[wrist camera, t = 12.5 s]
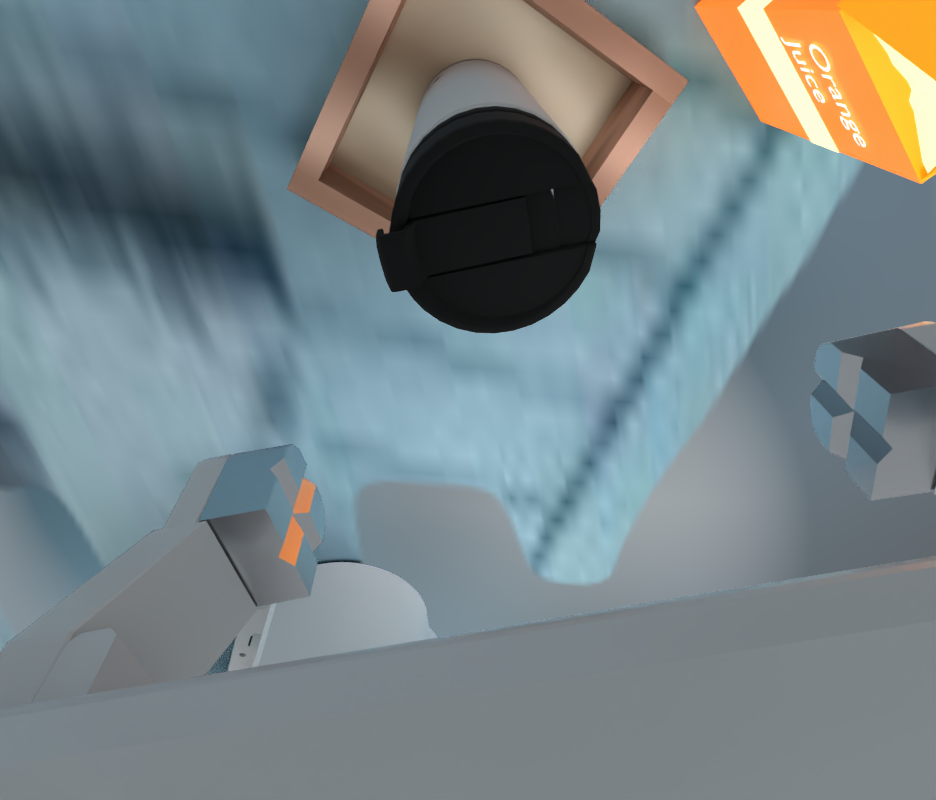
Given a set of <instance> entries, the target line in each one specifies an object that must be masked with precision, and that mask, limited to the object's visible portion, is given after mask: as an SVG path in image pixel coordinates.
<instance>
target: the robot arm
mask: <svg viewBox="0 0 936 800" xmlns="http://www.w3.org/2000/svg"><path fill="white" fill-rule="evenodd" d="M814 370H815V371H816V372H817V373H818V374H819V376H820V377H821V378H822V379H823V380H822V381H821V383H820V384H819V385H818V386H817V388H816V389H815V390H814V391H813V392H812V394H811V405H810V414H811V419H812V423H813V428H814V431H815V433H816V435H817V437H818V439H819V441H820V442H821V443H822V444H823V446H824V447H825V448H826V449H827V451H828V452H830V453H832V454H835V455H838V456H840V457H842V458H845V459H846V467H845V471H846V473H847V474H848V475H849V476H850V477H851V478H852V480H854V482H855V483H856V484H857V485H858V486H859V488H860V489H861V490H862V491H863V492H864V493H865V494H866V496H867V497H868V498H869V499H870V500H878V499H885V498H892V497H898V496H905V495H911V494H919V493H926V492H933V491H934V494H935V495H936V323H935V322H929V321H925V322H920V323H916V324H911V325H907V326H903V327H898V328H894V329H890V330H886V331H881V332H877V333H872V334H868V335H863V336H858V337H853V338H849V339H844V340H839V341H835V342H830V343H825V344H821V345H820V346H819V348H818V351H817V353H816V356H815V364H814ZM306 465H307V464H306V462H305V460H304V458H303V456H302V454H301V452H300V450H299V448H298V447H296V446H295V445H293V444H290V445H284V446H278V447H272V448H266V449H260V450H255V451H249V452H243V453H237V454H234V455H225V456H220V457H215V458H210V459H205V460H203V461H201V462H199V463H198V464H197V466H196V468H195V469H194V471H193V473H192V475H191V477H190V479H189V481H188V483H187V484H186V486H185V488H184V490H183V492H182V494H181V496H180V497H179V499H178V501H177V503H176V505H175V507H174V509H173V511H172V512H171V514H170V516H169V518H168V520H167V522H166V524H165V525H164V527H163V529H158V530H153V531H152V532H151V533H149V534H148V535H147V536H145V537H144V538H143V539H141V540H140V541H139V542H138V543H136V544H135V545H134V546H132V547H131V548H130V549H128V550H127V551H126V552H125V553H123V554H122V555H121V556H119V557H118V558H117V559H115V560H114V561H113V562H112V563H110V564H109V565H108V566H106V567H105V568H104V569H102V570H101V571H100V572H99V573H97V574H96V575H95V576H93V577H92V578H91V579H89V580H88V581H87V582H86V583H84V584H83V585H82V586H80V587H79V588H78V589H76V590H75V591H74V592H73V593H71V594H70V595H69V596H67V597H66V598H65V599H63V600H62V601H61V602H60V603H58V604H57V605H56V606H54V607H53V608H52V609H51V610H49V611H48V612H47V613H46V614H44V615H43V616H41V617H40V618H39V619H37V620H36V621H35V622H34V623H32V624H31V625H30V626H28V627H27V628H26V629H25V630H23V631H22V632H21V633H19V634H18V635H17V636H15V637H14V638H13V639H12V640H10V641H9V642H8V643H7V644H6V645H5V647H4V648H3V650H2V651H1V653H0V800H936V556H932V557H926V558H920V559H914V560H908V561H902V562H895V563H889V564H883V565H877V566H871V567H865V568H859V569H852V570H846V571H840V572H834V573H828V574H821V575H816V576H810V577H803V578H797V579H791V580H785V581H778V582H772V583H766V584H760V585H753V586H747V587H741V588H735V589H729V590H723V591H716V592H711V593H704V594H698V595H692V596H686V597H680V598H674V599H668V600H662V601H655V602H650V603H643V604H638V605H631V606H625V607H619V608H613V609H607V610H601V611H596V612H589V613H583V614H577V615H570V616H565V617H558V618H552V619H546V620H540V621H534V622H528V623H522V624H517V625H510V626H504V627H498V628H492V629H485V630H480V631H473V632H467V633H461V634H455V635H449V636H443V637H438V636H437V635H436V634H435V632H434V631H433V630H432V629H431V628H430V626H429V623H428V615H427V609H426V606H425V603H424V601H423V599H422V597H421V596H420V595H419V593H418V592H417V591H416V590H415V589H414V588H413V587H412V586H411V585H410V584H409V583H408V582H406V581H405V580H403V579H402V578H400V577H399V576H397V575H395V574H393V573H391V572H389V571H386V570H384V569H381V568H378V567H374V566H371V565H366V564H360V563H351V562H333V563H324V564H318V563H317V561H316V558H315V556H314V554H313V551H314V550H315V549H316V548H317V547H318V546H319V545H320V544H321V543H322V541H323V536H324V531H325V517H324V508H323V504H322V500H321V497H320V494H319V492H318V489H317V487H316V485H314V484H313V483H311V482H309V481H308V480H306V479H305V478H303V476H304V472H305V469H306ZM317 564H318V565H317ZM235 637H236V639H235ZM234 639H235V643H234V646H233V650H232V654H231V658H230V662H229V666H228V671H227V672H221V673H215V674H209V675H206V674H207V672H208V671H209V670H210V669H211V667H212V666H213V665H214V664H215V662H216V661H217V660H218V659H219V657H220V656H221V655H222V654H223V652H224V651H225V650H226V649H227V647H228V646H229V645H230V644H231V642H232V641H233V640H234Z"/></svg>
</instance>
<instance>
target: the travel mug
mask: <svg viewBox="0 0 936 800" xmlns="http://www.w3.org/2000/svg"><path fill="white" fill-rule="evenodd" d="M599 231H600V204H599V199H598V193H597V189H596V187H595V185H594V183H593V181H592V179H591V177H590V175H589V173H588V171H587V169H586V167H585V165H584V163H583V162H582V160H581V158H580V156H579V154H578V153H577V151H576V150H575V148H574V147H573V145H572V144H571V142H570V141H569V139H568V138H567V136H566V135H565V134H564V133H563V132H562V130H561V129H560V128H559V127H558V126H557V125H556V123H555V122H554V121H553V120H552V119H551V117H550V116H549V115H548V114H547V113H546V111H545V110H544V109H543V108H542V107H541V106H540V104H539V103H538V102H537V101H536V100H535V98H534V97H533V96H532V95H531V94H530V93H529V91H528V90H527V89H526V88H525V87H524V85H523V84H522V83H521V82H520V81H519V79H518V78H517V77H516V76H515V75H513V74H512V73H511V72H510V71H509V70H508V69H506V68H505V67H503V66H501V65H500V64H498V63H495V62H492V61H489V60H483V59H468V60H462V61H459V62H456V63H453V64H452V65H450V66H448V67H446V68H445V69H443V70H442V71H441V72H440V73H439V74H438V75H436V76H435V77H434V78H433V80H432V81H431V82H430V84H429V85H428V87H427V88H426V90H425V92H424V94H423V97H422V99H421V102H420V105H419V109H418V112H417V116H416V120H415V123H414V127H413V130H412V134H411V137H410V141H409V144H408V148H407V151H406V155H405V159H404V162H403V166H402V169H401V173H400V177H399V181H398V185H397V189H396V199H395V203H394V207H393V211H392V216H391V223H390V229H389V233H386V234H384V231H383V229H378V230H377V233H376V243H377V249H378V254H379V258H380V262H381V266H382V269H383V272H384V275H385V279H386V281H387V283H388V285H389V288H390V290H391V291H392V292H398V291H403V290H407V291H408V292H409V294H410V295H411V296H412V298H413V299H414V300H415V301H416V302H417V303H418V304H419V305H420V306H421V307H422V308H423V309H424V310H425V311H426V312H428V313H429V314H431V315H432V316H433V317H435V318H436V319H438V320H439V321H441V322H444V323H446V324H448V325H450V326H453V327H455V328H458V329H462V330H467V331H471V332H476V333H499V332H506V331H513V330H516V329H519V328H523V327H526V326H529V325H532V324H534V323H536V322H537V321H539V320H541V319H543V318H545V317H547V316H549V315H550V314H551V313H553V312H554V311H555V310H557V309H558V308H559V307H560V306H562V305H563V304H564V303H565V302H566V301H567V300H568V299H569V298H570V297H571V296H572V295H573V294H574V293H575V291H576V290H577V289H578V288H579V287H580V285H581V283H582V282H583V280H584V279H585V277H586V276H587V274H588V273H589V271H590V267H591V263H592V259H593V256H594V252H595V248H596V243H595V241H596V239H597V236H598V234H599Z"/></svg>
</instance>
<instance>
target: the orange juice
mask: <svg viewBox="0 0 936 800" xmlns="http://www.w3.org/2000/svg"><path fill="white" fill-rule="evenodd" d="M694 7H695V9H696V10H697V12H698V14H699V15H700V17H701V19H702V21H703V22H704V24H705V26H706V28H707V29H708V31H709V33H710V34H711V36H712V38H713V40H714V41H715V43H716V45H717V46H718V48H719V50H720V52H721V53H722V55H723V57H724V58H725V60H726V62H727V64H728V65H729V67H730V69H731V70H732V72H733V74H734V76H735V77H736V79H737V81H738V83H739V84H740V86H741V88H742V89H743V91H744V93H745V95H746V96H747V98H748V100H749V101H750V103H751V105H752V107H753V108H754V110H755V112H756V113H757V115H758V117H759V119H760V120H761V121H762V122H764V123H767V124H769V125H772V126H774V127H777V128H780V129H782V130H785V131H787V132H790V133H792V134H795V135H797V136H800V137H803V138H805V139H808V140H810V141H811V142H812V143H814V144H817V145H819V146H822V147H825V148H827V149H830V150H832V151H835V152H837V153H839V152H841V153H844V154H846V155H849V156H851V157H854V158H856V159H859V160H862V161H864V162H867V163H869V164H872V165H874V166H877V167H879V168H882V169H885V170H887V171H890V172H892V173H895V174H897V175H900V176H902V177H905V178H908V179H910V180H913V181H916V182H918V183H920V184H921V183H923V182H925V181H926V180H927V179H929V178H930V177H932V176H933V175H935V174H936V0H701V1H700V2H699V3H698V4H697V5H695V6H694Z"/></svg>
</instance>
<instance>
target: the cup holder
mask: <svg viewBox="0 0 936 800" xmlns="http://www.w3.org/2000/svg"><path fill="white" fill-rule="evenodd" d="M468 59H483V60H489V61H492V62H495V63H498V64H500V65H501V66H503V67H505V68H506V69H508V70H509V71H510V72H511V73H512V74H513V75H515V76H516V77H517V78H518V79H519V81H520V82H521V83H522V84H523V85H524V87H525V88H526V89H527V90H528V91H529V93H530V94H531V95H532V96H533V97H534V98H535V100H536V101H537V102H538V103H539V104H540V106H541V107H542V108H543V109H544V110H545V111H546V113H547V114H548V115H549V116H550V117H551V119H552V120H553V121H554V122H555V123H556V125H557V126H558V127H559V128H560V129H561V130H562V132H563V133H564V134H565V135H566V136H567V138H568V139H569V141H570V142H571V144H572V145H573V147H574V148H575V150H576V151H577V153H578V154H579V156H580V158H581V160H582V162H583V163H584V165H585V167H586V169H587V171H588V173H589V175H590V177H591V179H592V181H593V183H594V185H595V187H596V189H597V193H598V199H599V204H600V206H601V205H602V204H603V202H604V201H605V199H606V198H607V196H608V195H609V194H610V192H611V191H612V189H613V188H614V187H615V185H616V184H617V182H618V181H619V179H620V178H621V177H622V175H623V174H624V172H625V171H626V169H627V168H628V167H629V165H630V164H631V162H632V161H633V160H634V158H635V157H636V155H637V154H638V152H639V151H640V150H641V148H642V147H643V145H644V144H645V142H646V141H647V140H648V138H649V137H650V135H651V134H652V133H653V131H654V130H655V128H656V127H657V125H658V124H659V123H660V121H661V120H662V118H663V117H664V115H665V114H666V113H667V111H668V110H669V108H670V107H671V106H672V104H673V103H674V101H675V100H676V98H677V97H678V96H679V94H680V93H681V91H682V90H683V89H684V87H685V86H686V84H687V83H688V80H687V79H686V78H684V77H683V76H682V75H680V74H679V73H678V72H676V71H675V70H674V69H673V68H671V67H670V66H669V65H667V64H666V63H665V62H663V61H662V60H661V59H659V58H658V57H657V56H656V55H654V54H653V53H652V52H650V51H649V50H648V49H646V48H645V47H644V46H642V45H641V44H640V43H638V42H637V41H636V40H635V39H633V38H632V37H631V36H629V35H628V34H627V33H625V32H624V31H623V30H621V29H620V28H619V27H618V26H616V25H615V24H614V23H612V22H611V21H610V20H608V19H607V18H606V17H604V16H603V15H602V14H601V13H599V12H598V11H597V10H595V9H594V8H593V7H591V6H590V5H589V4H587V3H586V2H585V1H583V0H370V1H369V3H368V5H367V8H366V10H365V12H364V14H363V17H362V19H361V21H360V24H359V26H358V28H357V30H356V33H355V35H354V37H353V39H352V42H351V44H350V46H349V49H348V51H347V53H346V55H345V58H344V60H343V62H342V64H341V67H340V69H339V71H338V74H337V76H336V78H335V80H334V83H333V85H332V87H331V90H330V92H329V94H328V96H327V99H326V101H325V103H324V105H323V108H322V110H321V112H320V115H319V117H318V119H317V121H316V124H315V126H314V128H313V130H312V133H311V135H310V137H309V140H308V142H307V144H306V146H305V149H304V151H303V153H302V155H301V158H300V160H299V162H298V165H297V167H296V169H295V171H294V174H293V176H292V178H291V180H290V183H289V185H288V187H287V189H288V190H289V191H291V192H293V193H295V194H297V195H298V196H300V197H302V198H304V199H306V200H307V201H309V202H311V203H313V204H315V205H316V206H318V207H320V208H322V209H324V210H325V211H327V212H329V213H331V214H333V215H334V216H336V217H338V218H340V219H342V220H343V221H345V222H347V223H349V224H351V225H352V226H354V227H356V228H358V229H360V230H361V231H363V232H365V233H367V234H369V235H370V236H372V237H374V238H376V233H377V230H378V229H383V231H384V234H386V233H389V229H390V223H391V216H392V211H393V207H394V203H395V199H396V189H397V185H398V181H399V177H400V173H401V169H402V166H403V162H404V159H405V155H406V151H407V148H408V144H409V141H410V137H411V134H412V130H413V127H414V123H415V120H416V116H417V112H418V109H419V105H420V102H421V99H422V97H423V94H424V92H425V90H426V88H427V87H428V85H429V84H430V82H431V81H432V80H433V78H434V77H435V76H436V75H438V74H439V73H440V72H441V71H442V70H443V69H445V68H446V67H448V66H450V65H452V64H453V63H456V62H459V61H462V60H468Z"/></svg>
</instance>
